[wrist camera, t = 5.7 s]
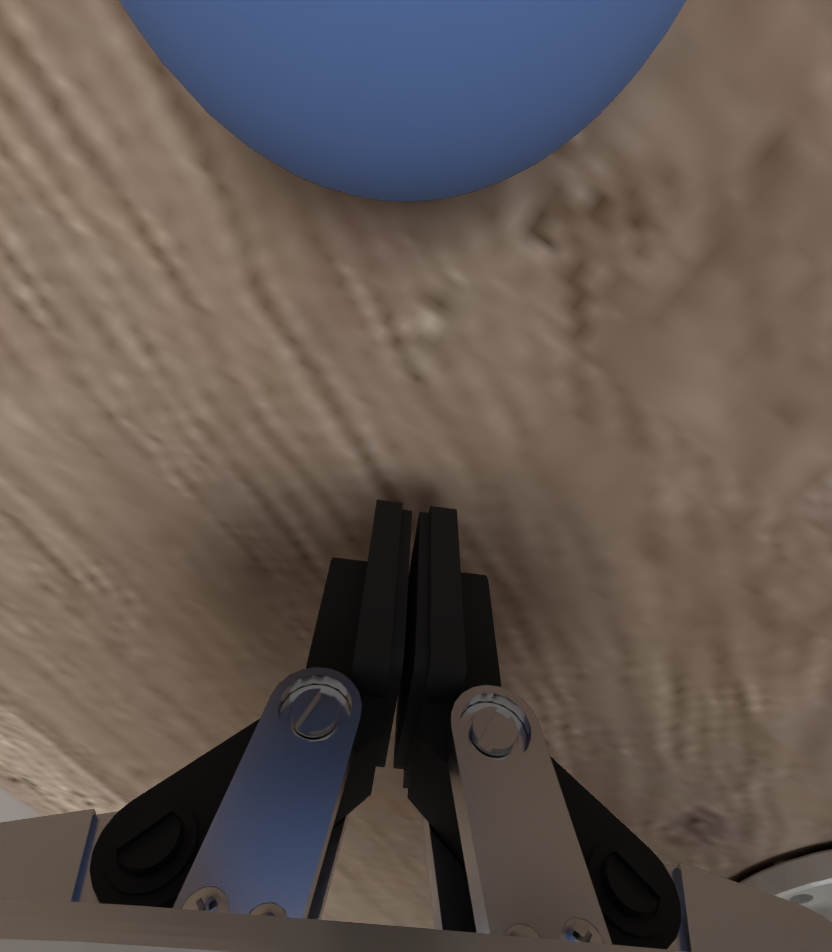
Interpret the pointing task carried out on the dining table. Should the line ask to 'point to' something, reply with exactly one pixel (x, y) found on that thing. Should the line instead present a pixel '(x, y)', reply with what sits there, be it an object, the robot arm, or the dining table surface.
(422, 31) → the ball
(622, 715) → the dining table surface
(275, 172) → the dining table surface
